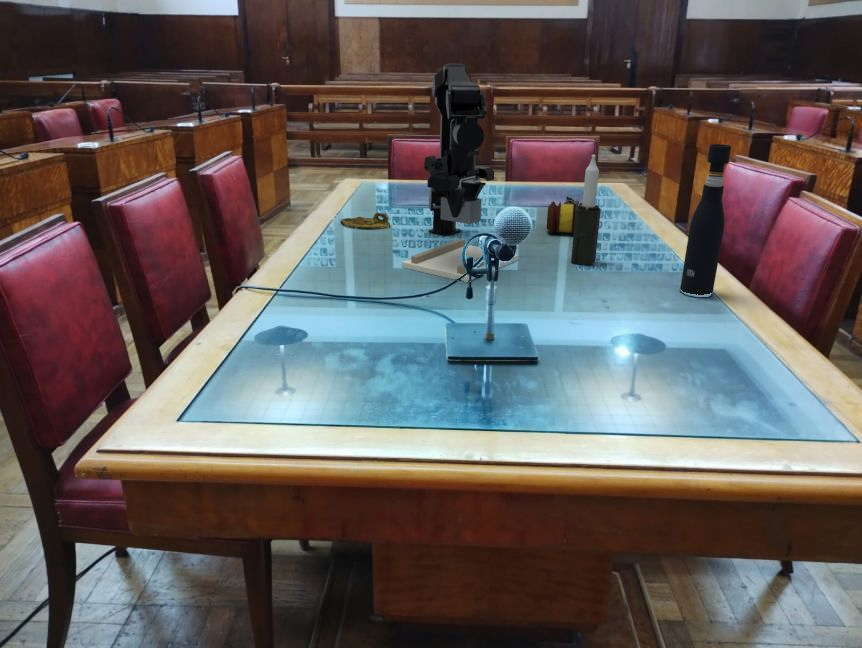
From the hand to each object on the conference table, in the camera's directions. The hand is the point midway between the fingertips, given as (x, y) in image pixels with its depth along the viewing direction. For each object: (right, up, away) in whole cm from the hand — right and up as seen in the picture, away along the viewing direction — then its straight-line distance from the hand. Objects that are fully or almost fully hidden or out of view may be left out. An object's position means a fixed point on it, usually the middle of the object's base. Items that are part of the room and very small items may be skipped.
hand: (460, 215), depth 157 cm
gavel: (+32, +4, +42) cm, 53 cm away
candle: (+29, -10, +7) cm, 32 cm away
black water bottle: (+48, -18, -13) cm, 53 cm away
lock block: (0, -1, 0) cm, 1 cm away
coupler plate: (0, -11, +4) cm, 11 cm away
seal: (-25, +2, +37) cm, 45 cm away
